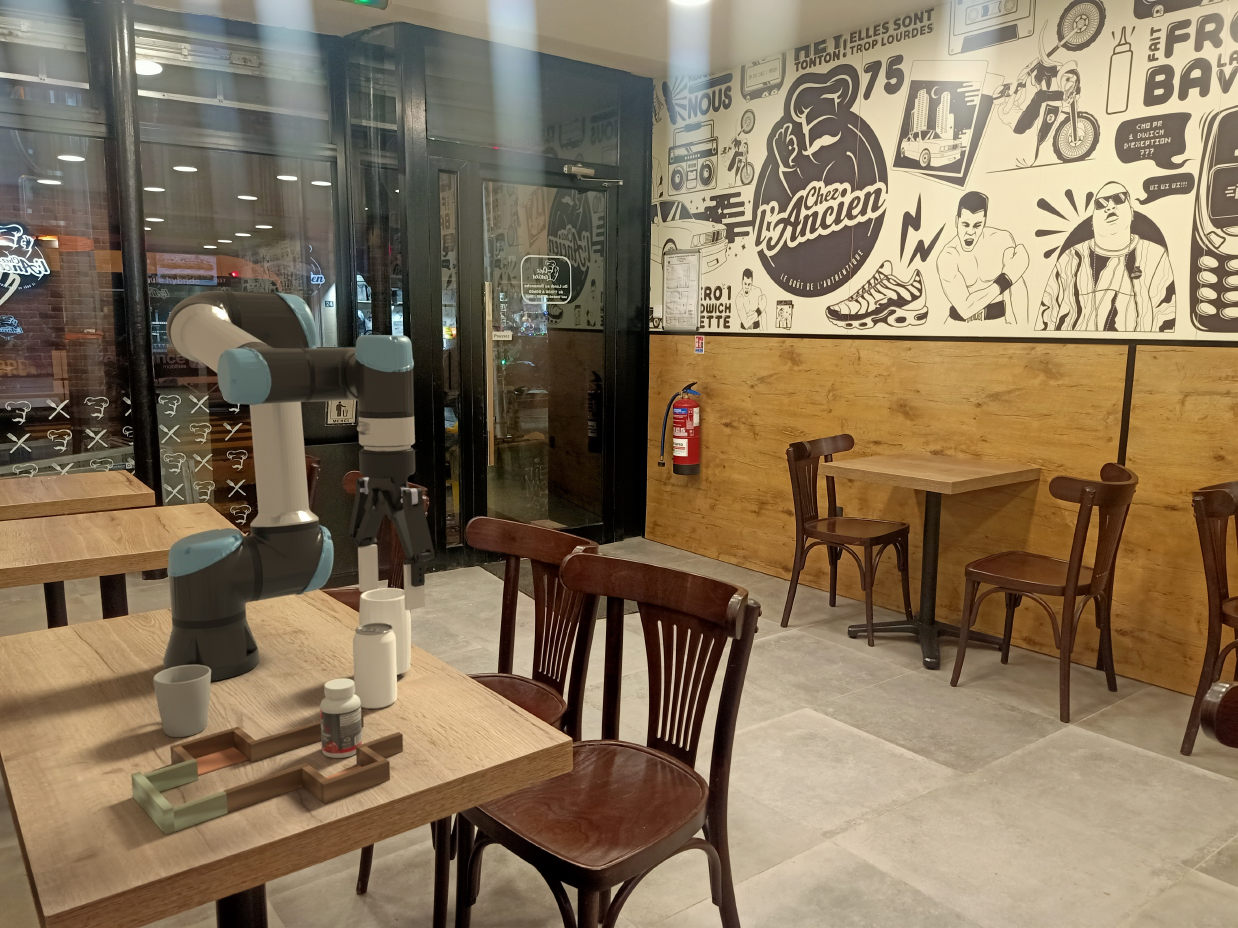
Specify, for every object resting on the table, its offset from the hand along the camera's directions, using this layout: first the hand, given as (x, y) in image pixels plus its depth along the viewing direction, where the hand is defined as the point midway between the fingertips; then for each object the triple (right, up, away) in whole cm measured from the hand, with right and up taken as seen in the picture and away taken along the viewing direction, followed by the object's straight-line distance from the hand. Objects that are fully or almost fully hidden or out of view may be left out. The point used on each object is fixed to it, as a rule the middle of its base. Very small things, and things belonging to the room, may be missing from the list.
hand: (391, 598), depth 129 cm
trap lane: (-13, -21, -9) cm, 26 cm away
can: (-6, -19, +14) cm, 24 cm away
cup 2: (-7, -17, +25) cm, 31 cm away
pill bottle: (-6, -21, -3) cm, 22 cm away
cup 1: (-31, -20, +4) cm, 37 cm away
